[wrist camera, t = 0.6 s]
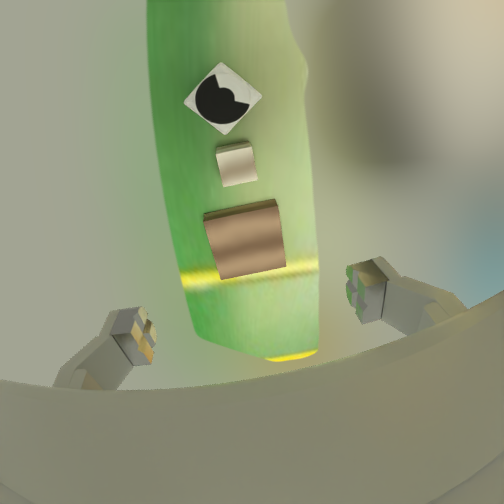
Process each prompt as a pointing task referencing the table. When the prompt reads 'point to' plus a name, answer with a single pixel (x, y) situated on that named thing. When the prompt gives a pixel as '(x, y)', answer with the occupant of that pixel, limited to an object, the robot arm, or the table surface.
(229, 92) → the medicine bottle
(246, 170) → the ash cube
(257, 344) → the table surface
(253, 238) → the walnut base
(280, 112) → the table surface
